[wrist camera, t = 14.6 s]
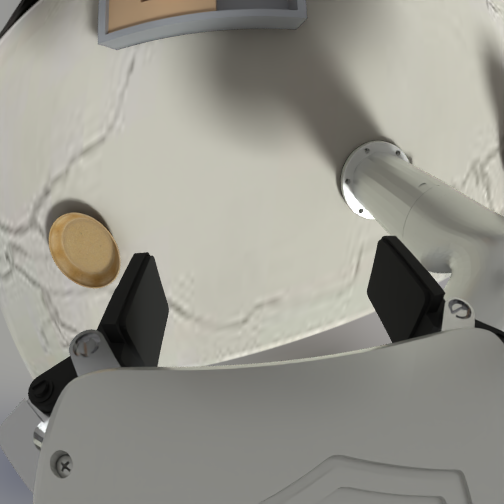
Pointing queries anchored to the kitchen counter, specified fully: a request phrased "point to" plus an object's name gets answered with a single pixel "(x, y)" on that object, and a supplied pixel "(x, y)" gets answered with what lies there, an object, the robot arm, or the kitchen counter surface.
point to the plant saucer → (84, 250)
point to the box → (190, 18)
